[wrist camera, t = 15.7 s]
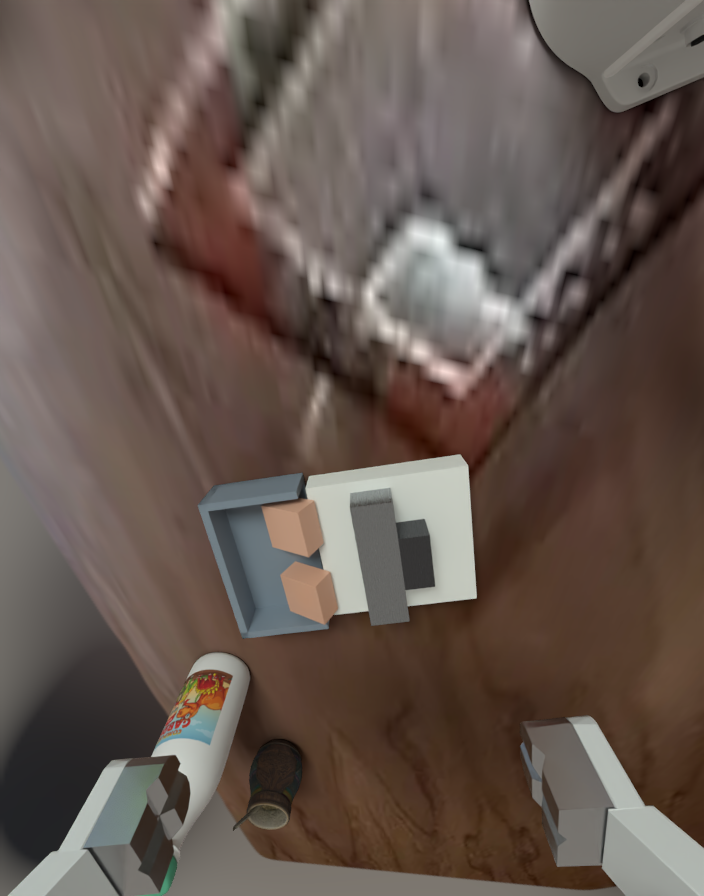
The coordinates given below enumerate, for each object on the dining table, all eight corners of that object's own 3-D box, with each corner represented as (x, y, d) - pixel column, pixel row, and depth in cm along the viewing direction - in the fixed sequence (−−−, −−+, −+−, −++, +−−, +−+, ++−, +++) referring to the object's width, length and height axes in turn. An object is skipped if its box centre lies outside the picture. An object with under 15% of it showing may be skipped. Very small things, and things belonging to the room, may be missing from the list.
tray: (302, 472, 40) (296, 491, 36) (331, 600, 46) (328, 628, 42) (213, 485, 41) (197, 505, 37) (252, 609, 47) (242, 638, 43)
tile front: (314, 500, 38) (297, 512, 36) (323, 543, 39) (308, 557, 37) (277, 494, 41) (261, 505, 39) (288, 534, 42) (272, 547, 40)
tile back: (330, 571, 41) (315, 586, 39) (338, 608, 42) (324, 624, 40) (295, 561, 43) (280, 574, 41) (304, 596, 45) (290, 610, 43)
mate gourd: (300, 769, 57) (287, 860, 48) (250, 759, 57) (227, 849, 47) (310, 738, 55) (299, 827, 45) (258, 727, 54) (236, 815, 45)
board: (460, 454, 40) (468, 465, 37) (469, 580, 45) (476, 598, 42) (308, 476, 41) (305, 488, 38) (335, 596, 46) (333, 615, 43)
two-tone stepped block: (350, 493, 38) (420, 483, 37) (370, 604, 43) (433, 597, 42) (349, 507, 35) (425, 497, 35) (371, 625, 40) (438, 618, 39)
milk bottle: (261, 663, 50) (202, 877, 31) (237, 700, 52) (169, 919, 33) (205, 641, 49) (110, 849, 30) (184, 679, 51) (83, 894, 32)
